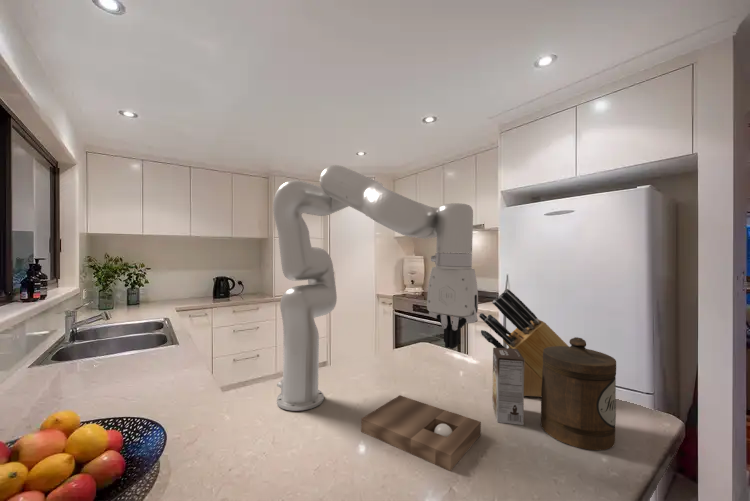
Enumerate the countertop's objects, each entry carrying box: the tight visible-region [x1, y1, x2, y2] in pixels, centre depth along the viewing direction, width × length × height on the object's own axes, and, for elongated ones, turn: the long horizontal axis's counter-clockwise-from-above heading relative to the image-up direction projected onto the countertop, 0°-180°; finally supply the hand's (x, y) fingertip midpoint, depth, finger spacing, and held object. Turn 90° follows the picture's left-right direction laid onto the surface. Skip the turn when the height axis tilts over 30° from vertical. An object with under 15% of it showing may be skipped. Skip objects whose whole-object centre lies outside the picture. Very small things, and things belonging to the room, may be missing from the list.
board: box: [360, 395, 482, 472], centre depth 76 cm, size 22×16×3 cm
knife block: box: [478, 288, 569, 398], centre depth 100 cm, size 11×35×31 cm, turn 83°
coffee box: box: [492, 347, 525, 426], centre depth 85 cm, size 9×6×16 cm
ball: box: [434, 424, 452, 437], centre depth 72 cm, size 4×4×4 cm
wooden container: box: [540, 336, 617, 451], centre depth 78 cm, size 15×15×22 cm
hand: (451, 346), depth 72 cm, fingers closed
